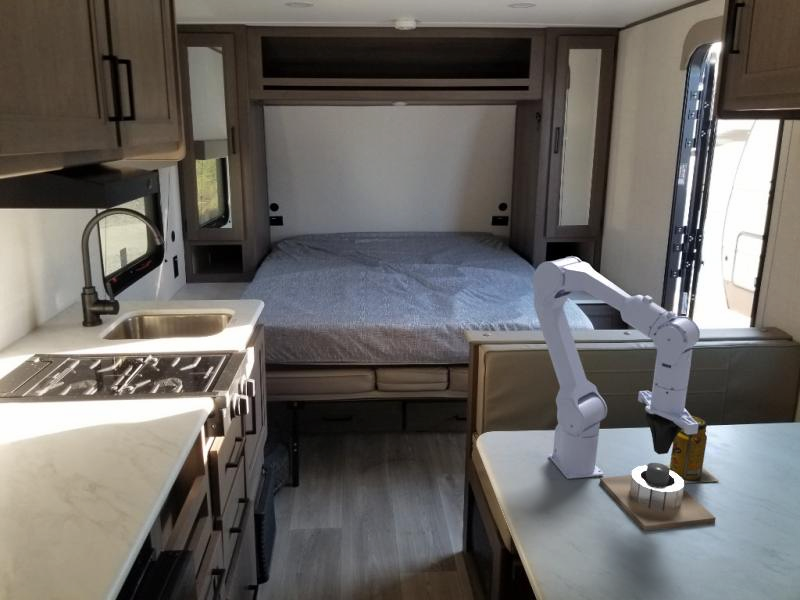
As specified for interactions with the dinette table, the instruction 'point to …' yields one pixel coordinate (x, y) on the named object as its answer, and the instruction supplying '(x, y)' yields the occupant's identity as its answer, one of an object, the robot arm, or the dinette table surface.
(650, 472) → the dark rounded capsule
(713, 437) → the dinette table surface
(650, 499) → the white faceted ring
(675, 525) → the walnut board
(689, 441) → the condiment
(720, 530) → the dinette table surface
